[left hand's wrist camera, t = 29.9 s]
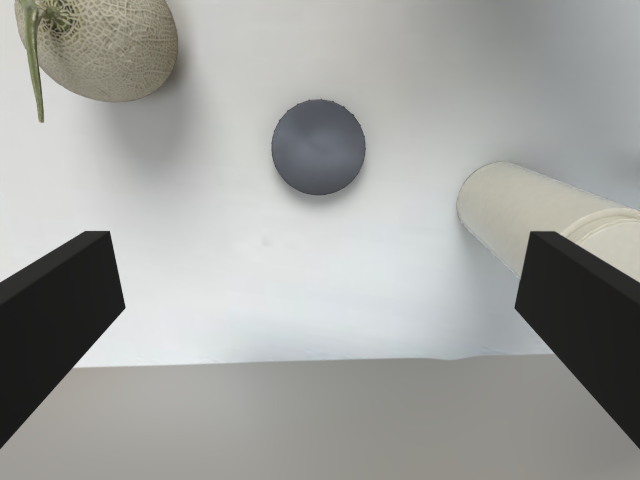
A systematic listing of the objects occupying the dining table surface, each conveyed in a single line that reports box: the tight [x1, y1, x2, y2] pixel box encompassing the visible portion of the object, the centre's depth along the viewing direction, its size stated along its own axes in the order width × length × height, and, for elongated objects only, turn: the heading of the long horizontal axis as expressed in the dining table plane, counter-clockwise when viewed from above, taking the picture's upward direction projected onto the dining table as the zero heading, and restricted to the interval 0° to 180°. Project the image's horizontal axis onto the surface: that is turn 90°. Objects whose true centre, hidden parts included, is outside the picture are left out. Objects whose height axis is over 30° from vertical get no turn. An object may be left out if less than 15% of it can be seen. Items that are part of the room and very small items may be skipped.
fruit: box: [14, 0, 178, 122], centre depth 29 cm, size 10×12×15 cm
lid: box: [271, 99, 366, 195], centre depth 39 cm, size 9×9×2 cm
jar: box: [457, 162, 640, 282], centre depth 33 cm, size 8×8×18 cm
